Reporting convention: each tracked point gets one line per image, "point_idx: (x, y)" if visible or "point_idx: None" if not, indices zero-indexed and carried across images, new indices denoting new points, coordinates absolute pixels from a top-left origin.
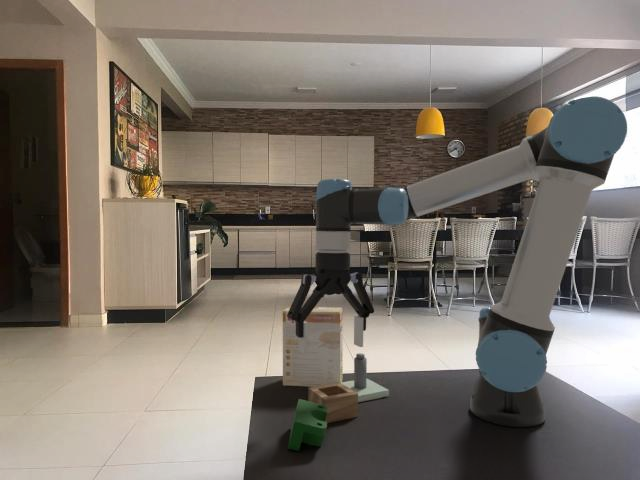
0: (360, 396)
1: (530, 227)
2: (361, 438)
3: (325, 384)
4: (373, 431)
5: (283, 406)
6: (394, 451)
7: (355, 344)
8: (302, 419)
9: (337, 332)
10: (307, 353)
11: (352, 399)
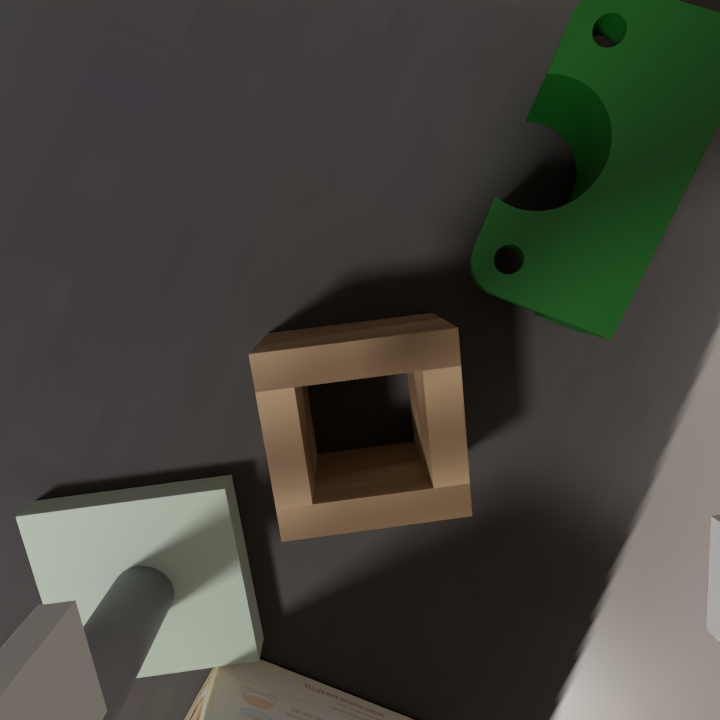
0: (185, 492)
1: None
2: (342, 116)
3: (284, 679)
4: (263, 164)
5: (525, 530)
6: None
7: (96, 688)
8: (698, 67)
9: None
10: (714, 517)
11: (288, 344)
